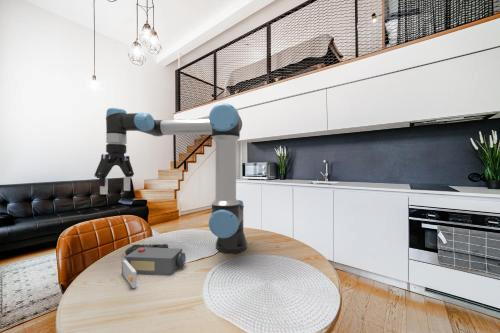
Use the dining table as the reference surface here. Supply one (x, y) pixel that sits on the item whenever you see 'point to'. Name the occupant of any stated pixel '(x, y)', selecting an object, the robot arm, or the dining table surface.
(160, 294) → the dining table surface
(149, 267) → the camera body
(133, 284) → the side door
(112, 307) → the dining table surface
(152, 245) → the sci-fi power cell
